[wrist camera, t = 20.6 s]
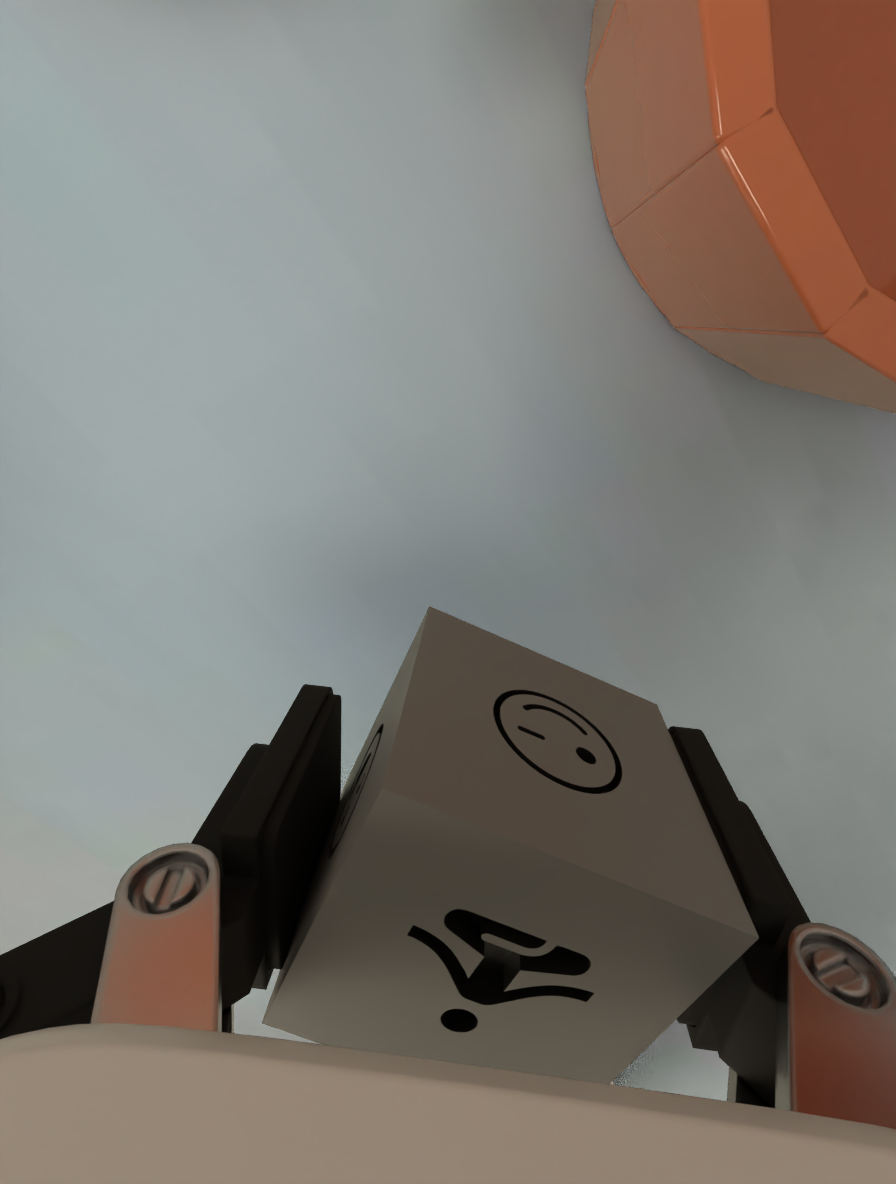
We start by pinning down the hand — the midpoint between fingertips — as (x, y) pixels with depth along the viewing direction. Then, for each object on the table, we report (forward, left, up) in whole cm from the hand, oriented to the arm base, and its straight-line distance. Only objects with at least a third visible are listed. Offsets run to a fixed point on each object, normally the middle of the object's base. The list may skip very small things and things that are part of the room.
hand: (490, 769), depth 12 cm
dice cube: (0, 0, -1) cm, 1 cm away
